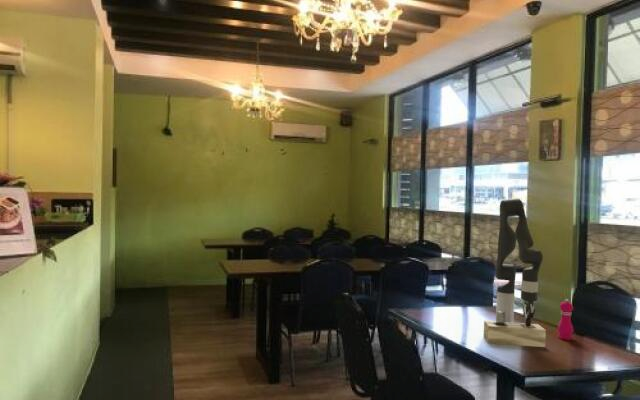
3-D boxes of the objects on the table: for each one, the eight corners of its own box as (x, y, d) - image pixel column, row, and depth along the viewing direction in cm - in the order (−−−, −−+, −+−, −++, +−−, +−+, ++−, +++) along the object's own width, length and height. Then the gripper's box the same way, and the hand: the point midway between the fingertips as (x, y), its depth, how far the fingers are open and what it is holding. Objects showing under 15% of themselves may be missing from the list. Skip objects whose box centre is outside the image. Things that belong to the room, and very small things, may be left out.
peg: (495, 326, 251) (495, 310, 251) (503, 327, 250) (504, 311, 250) (496, 328, 247) (497, 312, 247) (505, 329, 246) (506, 313, 246)
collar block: (483, 336, 255) (484, 320, 255) (537, 340, 252) (538, 324, 252) (488, 343, 243) (489, 326, 243) (545, 347, 240) (545, 330, 240)
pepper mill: (574, 340, 255) (576, 300, 255) (559, 339, 256) (561, 299, 256) (570, 336, 262) (572, 298, 262) (555, 335, 263) (557, 297, 263)
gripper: (517, 287, 254) (516, 322, 254) (525, 292, 241) (523, 328, 241) (533, 288, 253) (532, 323, 253) (541, 293, 240) (540, 329, 240)
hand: (527, 325), depth 247 cm, fingers closed
